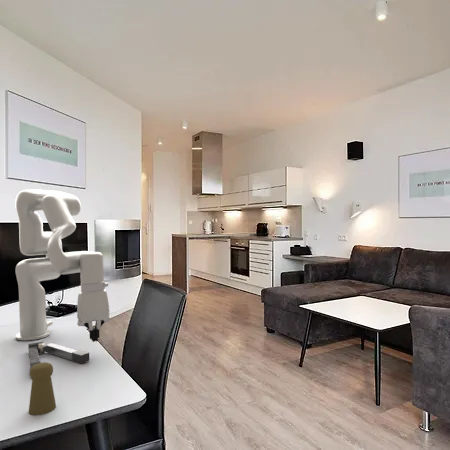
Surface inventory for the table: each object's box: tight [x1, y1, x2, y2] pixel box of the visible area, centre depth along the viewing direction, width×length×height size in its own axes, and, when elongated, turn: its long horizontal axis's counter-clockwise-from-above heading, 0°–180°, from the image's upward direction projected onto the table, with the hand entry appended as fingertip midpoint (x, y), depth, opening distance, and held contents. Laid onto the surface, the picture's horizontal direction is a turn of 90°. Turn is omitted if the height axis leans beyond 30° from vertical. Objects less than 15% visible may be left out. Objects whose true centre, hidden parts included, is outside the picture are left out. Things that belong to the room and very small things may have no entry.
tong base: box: [27, 341, 45, 370], centre depth 120 cm, size 26×5×3 cm, turn 31°
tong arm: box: [38, 342, 90, 365], centre depth 124 cm, size 22×5×3 cm, turn 56°
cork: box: [28, 361, 57, 416], centre depth 89 cm, size 6×6×11 cm
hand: (94, 340), depth 126 cm, fingers closed
